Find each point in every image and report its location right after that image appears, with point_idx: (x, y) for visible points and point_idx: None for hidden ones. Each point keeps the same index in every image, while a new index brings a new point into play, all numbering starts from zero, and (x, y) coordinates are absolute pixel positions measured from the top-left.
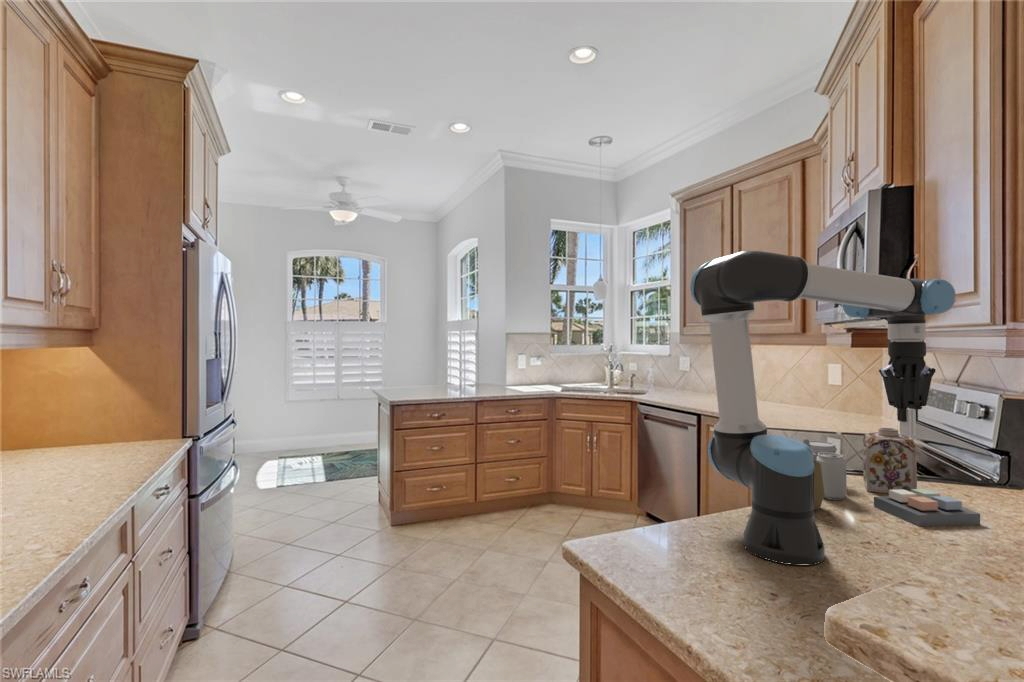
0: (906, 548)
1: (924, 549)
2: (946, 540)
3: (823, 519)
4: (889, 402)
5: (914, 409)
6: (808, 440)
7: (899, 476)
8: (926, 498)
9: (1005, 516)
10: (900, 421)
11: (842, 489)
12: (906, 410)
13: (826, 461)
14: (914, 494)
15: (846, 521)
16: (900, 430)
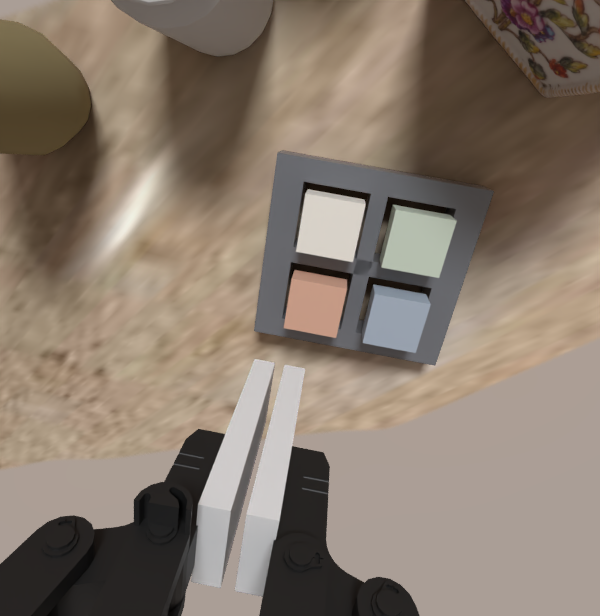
0: (118, 397)
1: (150, 409)
2: (239, 392)
3: (42, 212)
4: (22, 556)
5: (254, 593)
6: None
7: (545, 39)
8: (335, 306)
9: (583, 325)
10: (234, 417)
11: (215, 51)
12: (197, 554)
13: None
14: (344, 260)
15: (97, 241)
16: (249, 376)
